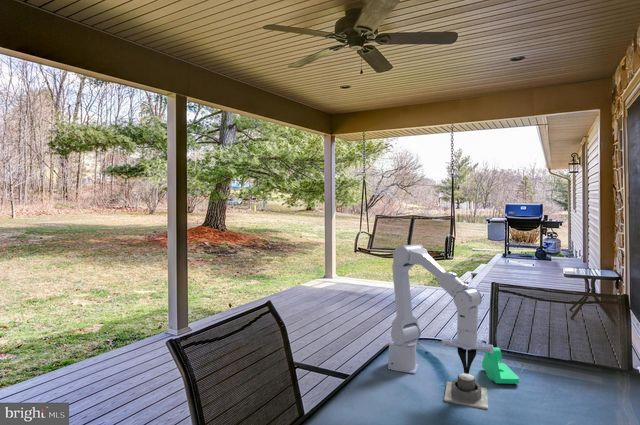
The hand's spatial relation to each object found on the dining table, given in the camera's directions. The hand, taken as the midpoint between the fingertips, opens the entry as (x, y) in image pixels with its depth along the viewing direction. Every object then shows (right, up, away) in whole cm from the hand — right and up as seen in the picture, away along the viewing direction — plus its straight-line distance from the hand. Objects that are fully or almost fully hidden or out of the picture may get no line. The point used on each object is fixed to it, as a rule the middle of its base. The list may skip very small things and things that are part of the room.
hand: (466, 372), depth 118 cm
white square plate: (0, -7, 0) cm, 7 cm away
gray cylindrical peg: (0, -7, 0) cm, 7 cm away
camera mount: (+16, -7, +12) cm, 21 cm away
